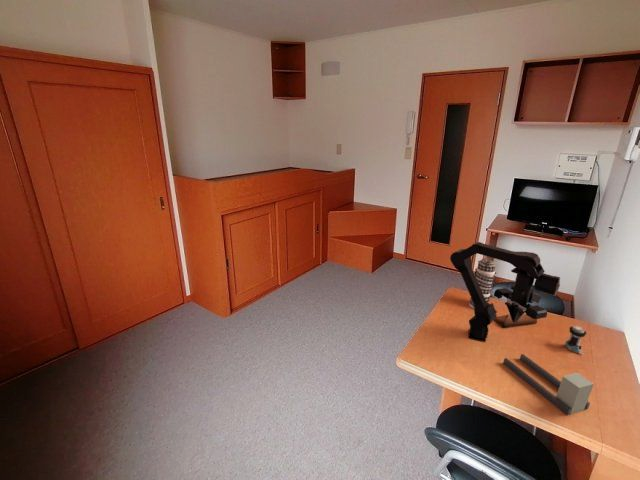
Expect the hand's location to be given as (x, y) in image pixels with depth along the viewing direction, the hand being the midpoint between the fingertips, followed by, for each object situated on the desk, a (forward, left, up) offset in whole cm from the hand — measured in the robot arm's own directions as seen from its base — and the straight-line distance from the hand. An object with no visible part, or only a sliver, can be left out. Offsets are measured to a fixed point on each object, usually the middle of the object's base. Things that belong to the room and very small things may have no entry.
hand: (514, 321), depth 125 cm
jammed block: (+14, -25, -12) cm, 31 cm away
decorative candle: (-9, +33, -13) cm, 37 cm away
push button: (+25, +11, -13) cm, 30 cm away
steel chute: (+9, -19, -13) cm, 24 cm away
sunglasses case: (+5, +25, -14) cm, 29 cm away
